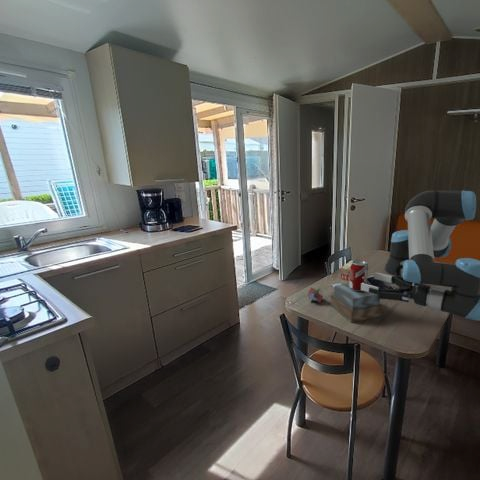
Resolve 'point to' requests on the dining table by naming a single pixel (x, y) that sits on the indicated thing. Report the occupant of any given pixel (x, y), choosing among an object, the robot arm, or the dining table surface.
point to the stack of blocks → (346, 273)
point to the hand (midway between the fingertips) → (368, 280)
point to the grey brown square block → (355, 303)
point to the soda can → (358, 275)
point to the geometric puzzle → (315, 295)
